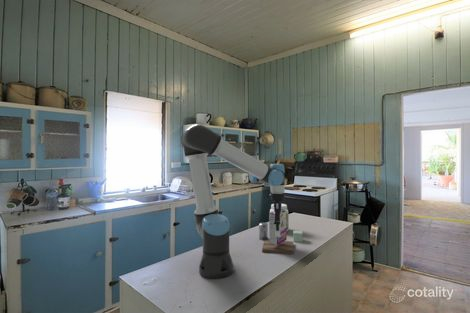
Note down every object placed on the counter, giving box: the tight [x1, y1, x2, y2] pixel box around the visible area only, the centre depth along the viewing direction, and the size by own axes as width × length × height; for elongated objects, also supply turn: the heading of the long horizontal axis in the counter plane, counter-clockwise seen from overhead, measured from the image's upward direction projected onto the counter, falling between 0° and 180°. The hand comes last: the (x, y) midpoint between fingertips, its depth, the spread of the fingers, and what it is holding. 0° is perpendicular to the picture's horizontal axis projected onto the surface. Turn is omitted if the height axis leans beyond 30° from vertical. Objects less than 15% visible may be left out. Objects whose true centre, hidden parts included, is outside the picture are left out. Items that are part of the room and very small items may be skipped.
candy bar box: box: [268, 210, 288, 245], centre depth 137 cm, size 11×5×16 cm, turn 143°
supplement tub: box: [269, 203, 290, 233], centre depth 169 cm, size 12×12×17 cm
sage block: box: [292, 230, 303, 243], centre depth 149 cm, size 5×5×5 cm
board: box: [261, 239, 295, 255], centre depth 137 cm, size 14×16×2 cm
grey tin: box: [258, 222, 269, 241], centre depth 153 cm, size 5×5×9 cm
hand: (277, 232), depth 137 cm, fingers closed on candy bar box, 12 cm apart
